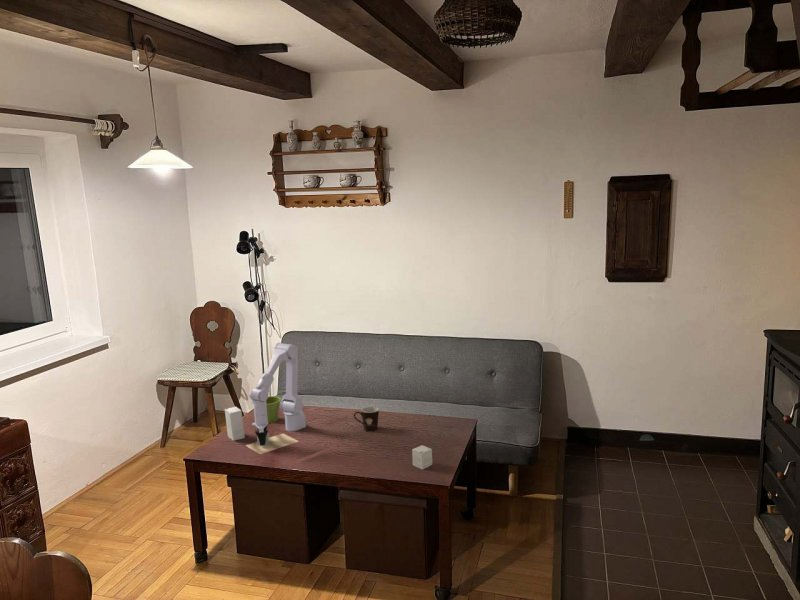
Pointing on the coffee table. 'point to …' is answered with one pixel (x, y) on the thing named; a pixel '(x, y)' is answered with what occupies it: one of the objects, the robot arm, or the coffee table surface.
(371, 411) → the coffee mug
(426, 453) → the skincare box
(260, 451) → the board
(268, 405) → the plant pot
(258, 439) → the cap
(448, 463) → the coffee table surface
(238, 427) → the skincare box
